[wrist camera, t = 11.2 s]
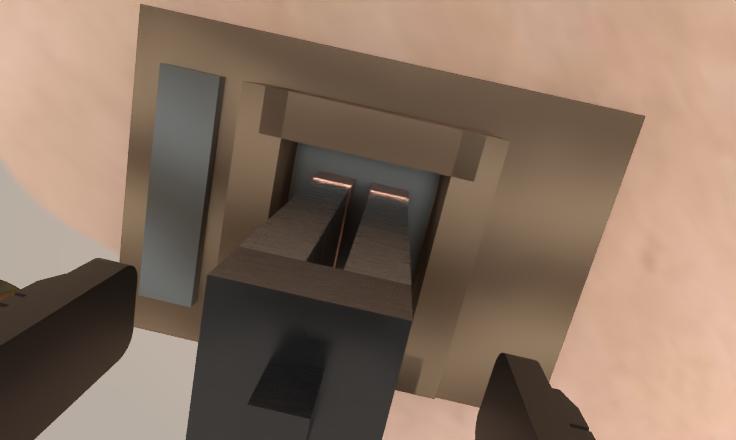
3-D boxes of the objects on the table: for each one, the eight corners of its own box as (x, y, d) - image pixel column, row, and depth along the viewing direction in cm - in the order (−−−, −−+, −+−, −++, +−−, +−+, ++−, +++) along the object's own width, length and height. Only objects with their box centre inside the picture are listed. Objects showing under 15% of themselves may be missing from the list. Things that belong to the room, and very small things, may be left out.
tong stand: (153, 8, 19) (90, -14, 15) (632, 115, 19) (691, 119, 15) (126, 312, 23) (71, 356, 19) (529, 406, 23) (555, 470, 19)
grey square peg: (320, 170, 19) (171, 299, 7) (408, 190, 19) (419, 356, 7) (303, 263, 20) (147, 518, 8) (386, 281, 20) (360, 568, 8)
